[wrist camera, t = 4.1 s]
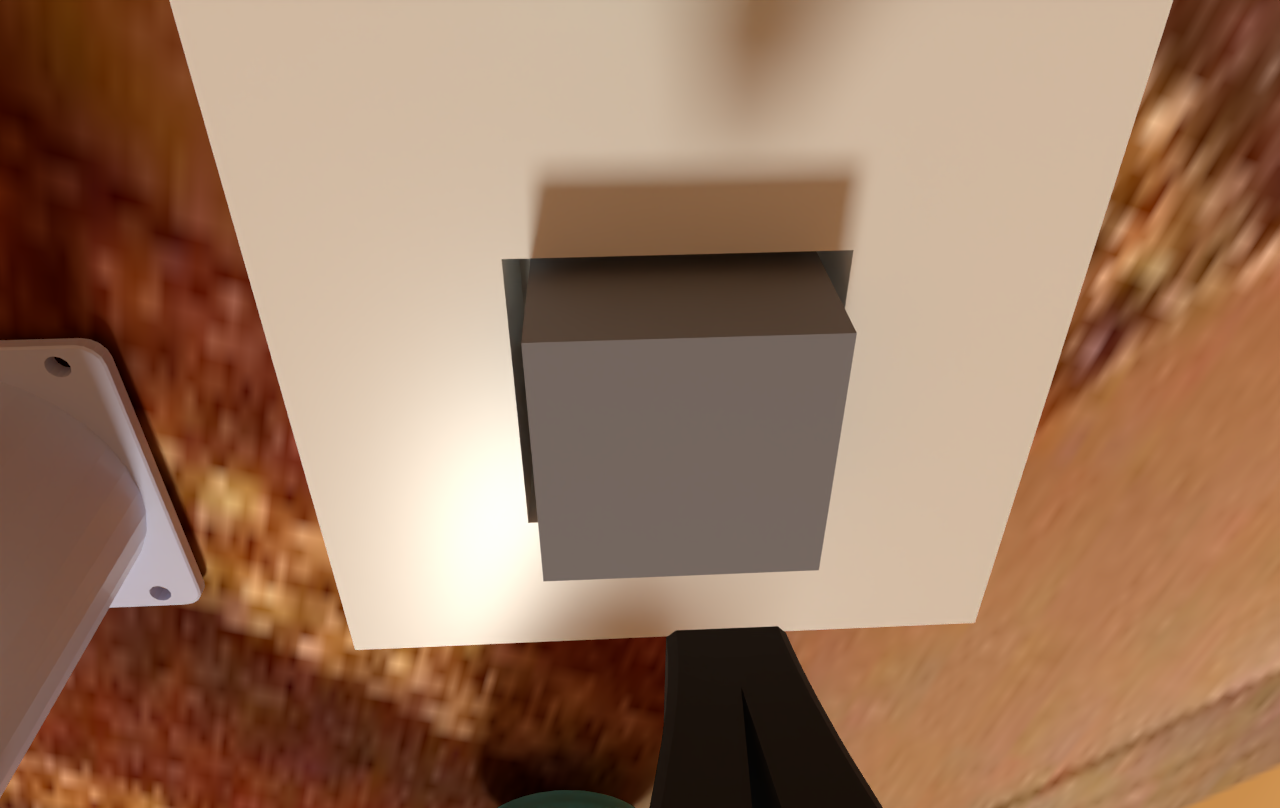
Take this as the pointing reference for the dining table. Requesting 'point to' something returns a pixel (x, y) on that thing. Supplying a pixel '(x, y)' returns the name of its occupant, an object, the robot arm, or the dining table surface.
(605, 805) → the beverage bottle
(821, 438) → the charcoal key
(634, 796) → the dining table surface
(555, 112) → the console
